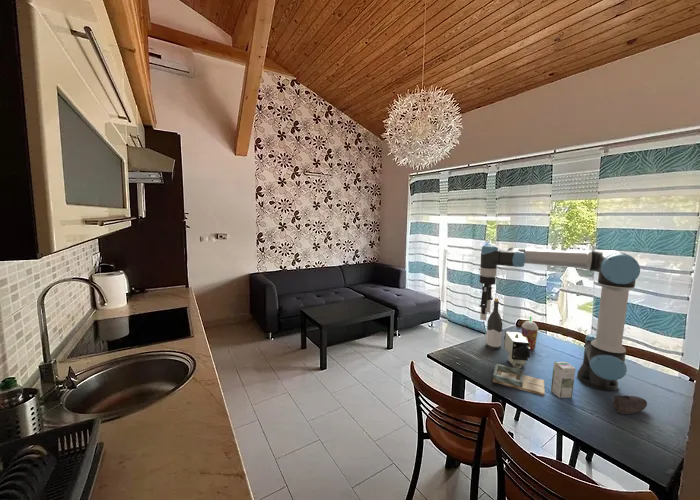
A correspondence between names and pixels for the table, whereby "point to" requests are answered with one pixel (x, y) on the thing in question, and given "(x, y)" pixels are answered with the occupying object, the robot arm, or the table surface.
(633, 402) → the perforated stone tool
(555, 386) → the syrup box
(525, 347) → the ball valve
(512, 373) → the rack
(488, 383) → the table surface
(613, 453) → the table surface
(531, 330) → the smoothie
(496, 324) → the wine bottle
